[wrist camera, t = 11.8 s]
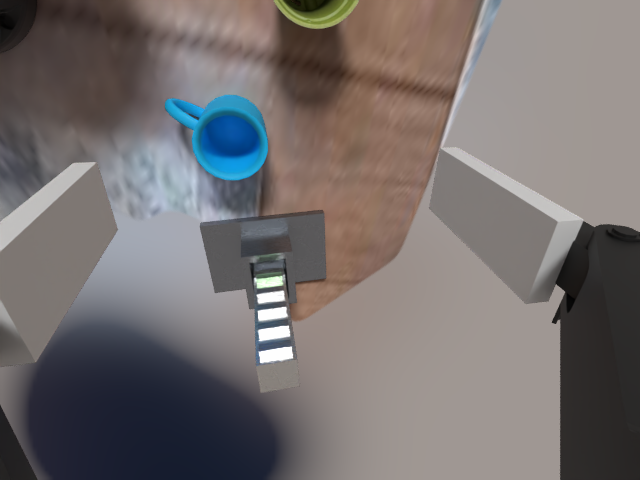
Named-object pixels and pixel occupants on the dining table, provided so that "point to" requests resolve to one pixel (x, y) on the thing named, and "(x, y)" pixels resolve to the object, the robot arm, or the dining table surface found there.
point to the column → (274, 332)
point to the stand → (265, 250)
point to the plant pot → (316, 12)
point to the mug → (225, 135)
